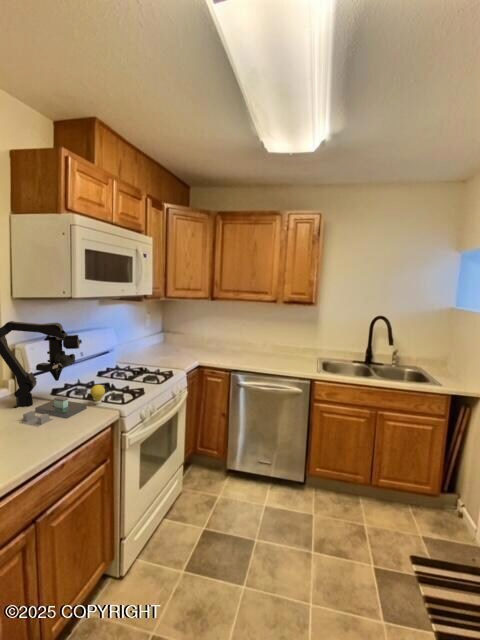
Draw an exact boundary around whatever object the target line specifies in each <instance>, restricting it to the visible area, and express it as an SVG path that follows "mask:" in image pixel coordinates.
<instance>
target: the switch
mask: <svg viewBox="0 0 480 640" xmlns="http://www.w3.org/2000/svg"><path fill="white" fill-rule="evenodd" d="M87 408H88V407H87V404H86V403H81V402H76V401H75V402H74V401H69V400H68V407H66V408H64V409H62V408H57V407H54V399H53V400H50V401H48V402H46V403H43V404H41V405H38V406H36V407H35V408H34V409H35V411H34V412H35V414H40V415H41V414H42V415H43V414H49V416H52V417H58V418H63V419H69V418H71V417H73V416H75V415H77V414H79V413H82V412H83V411H85V410H87Z"/></svg>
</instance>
